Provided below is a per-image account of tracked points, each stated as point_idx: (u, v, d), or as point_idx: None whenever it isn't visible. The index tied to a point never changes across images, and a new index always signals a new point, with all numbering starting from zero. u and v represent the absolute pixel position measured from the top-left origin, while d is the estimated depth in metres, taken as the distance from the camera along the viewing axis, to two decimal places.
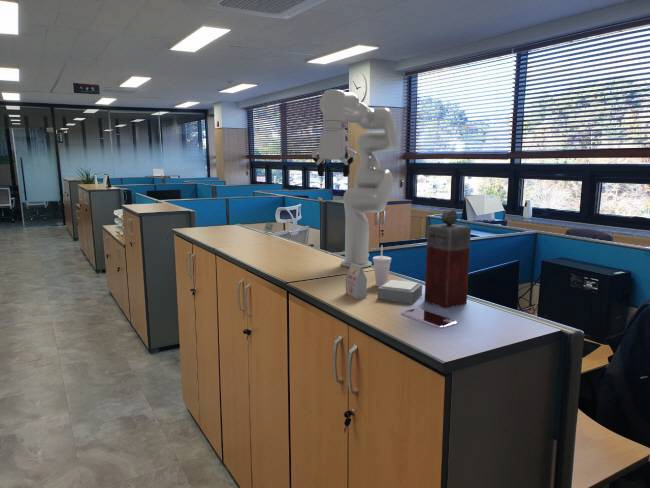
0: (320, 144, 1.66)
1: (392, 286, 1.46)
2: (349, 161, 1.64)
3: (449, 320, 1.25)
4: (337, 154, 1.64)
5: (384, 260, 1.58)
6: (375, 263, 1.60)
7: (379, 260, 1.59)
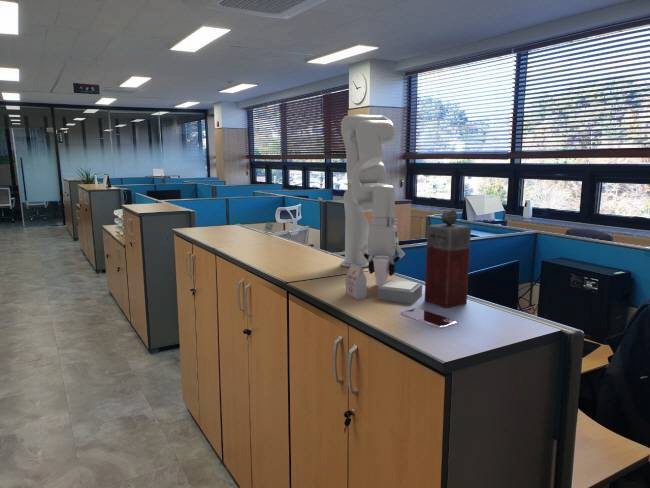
0: (368, 239, 1.60)
1: (392, 286, 1.46)
2: (395, 260, 1.58)
3: (449, 320, 1.25)
4: (387, 251, 1.58)
5: (384, 260, 1.58)
6: (375, 263, 1.60)
7: (379, 260, 1.59)
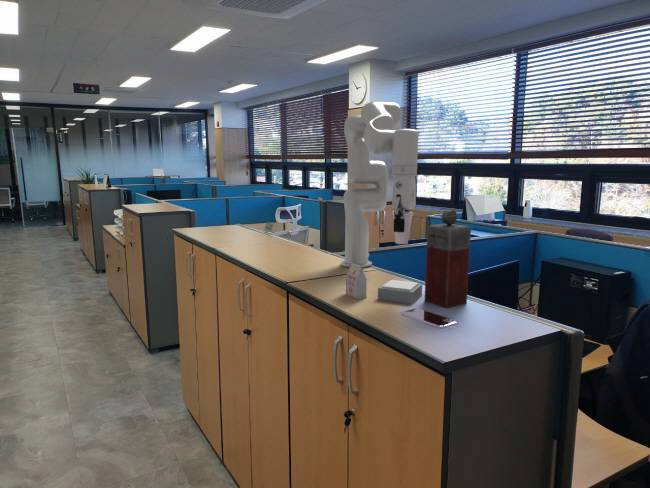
0: None
1: (392, 286, 1.46)
2: None
3: (449, 320, 1.25)
4: None
5: (393, 213, 1.44)
6: None
7: None
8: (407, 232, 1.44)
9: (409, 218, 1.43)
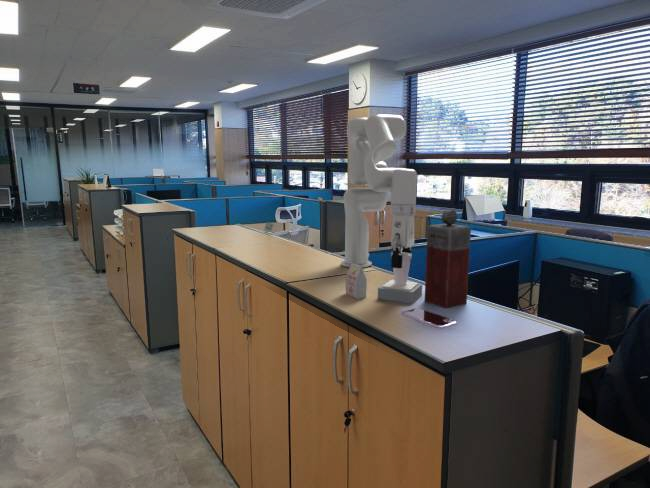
0: None
1: (392, 286, 1.46)
2: None
3: (449, 320, 1.25)
4: None
5: None
6: None
7: None
8: (406, 274, 1.46)
9: (408, 261, 1.45)
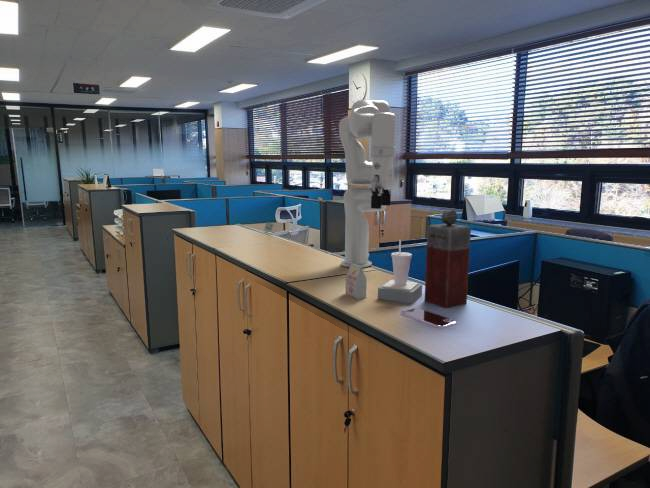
0: None
1: (392, 286, 1.46)
2: None
3: (449, 320, 1.25)
4: None
5: (392, 255, 1.47)
6: None
7: None
8: (406, 274, 1.46)
9: (408, 261, 1.45)
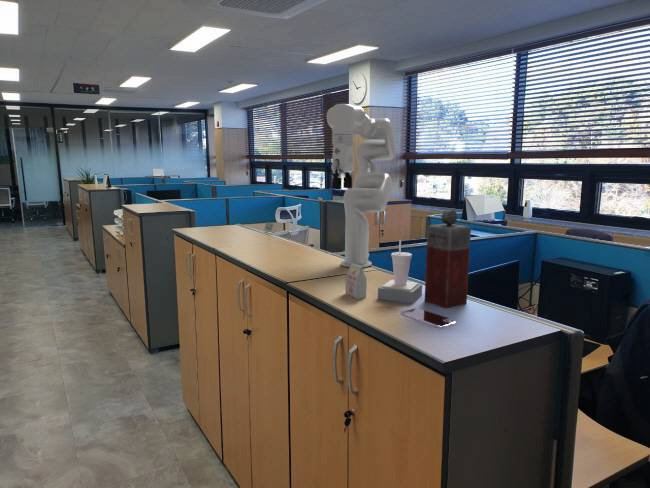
0: None
1: (392, 286, 1.46)
2: None
3: (448, 320, 1.25)
4: None
5: (392, 255, 1.47)
6: None
7: None
8: (406, 274, 1.46)
9: (408, 261, 1.45)
